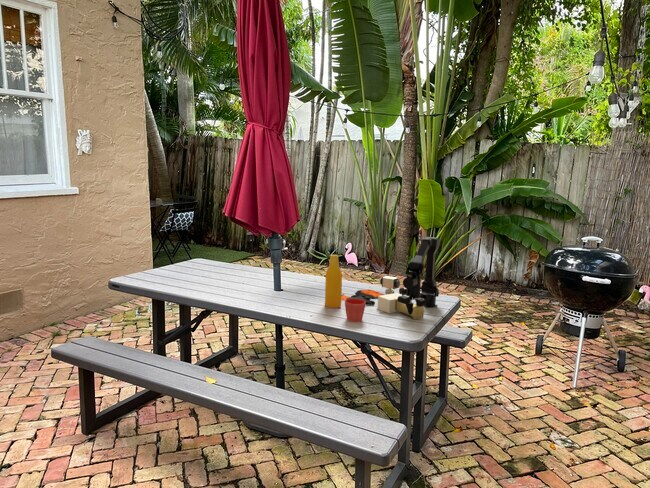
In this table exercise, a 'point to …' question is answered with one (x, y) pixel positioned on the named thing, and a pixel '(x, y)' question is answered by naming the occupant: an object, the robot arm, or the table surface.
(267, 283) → the table surface
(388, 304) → the block
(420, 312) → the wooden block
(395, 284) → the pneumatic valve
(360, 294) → the pair of gloves
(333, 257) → the beer bottle
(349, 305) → the flower pot
